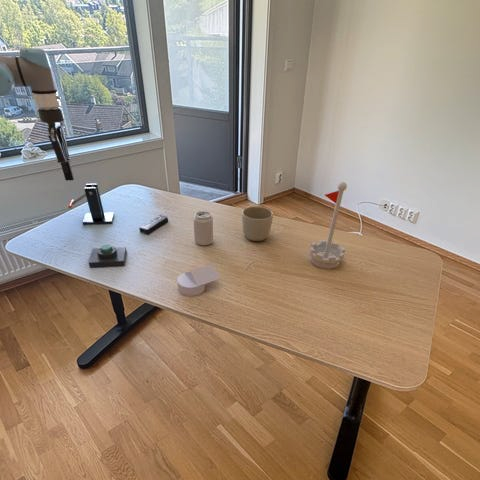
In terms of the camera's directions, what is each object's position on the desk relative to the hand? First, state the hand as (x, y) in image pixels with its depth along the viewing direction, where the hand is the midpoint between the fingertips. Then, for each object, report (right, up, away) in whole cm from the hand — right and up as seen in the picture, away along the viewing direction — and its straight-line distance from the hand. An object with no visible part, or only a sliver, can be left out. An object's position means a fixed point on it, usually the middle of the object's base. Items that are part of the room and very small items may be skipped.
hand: (69, 179), depth 130 cm
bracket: (+2, -9, +21) cm, 23 cm away
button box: (+16, -31, -3) cm, 35 cm away
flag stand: (+97, -30, +3) cm, 102 cm away
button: (+16, -28, -5) cm, 33 cm away
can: (+50, -22, +10) cm, 55 cm away
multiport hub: (+28, -13, +18) cm, 36 cm away
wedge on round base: (+50, -42, -13) cm, 66 cm away
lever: (-1, -2, +14) cm, 15 cm away
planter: (+71, -18, +15) cm, 75 cm away
